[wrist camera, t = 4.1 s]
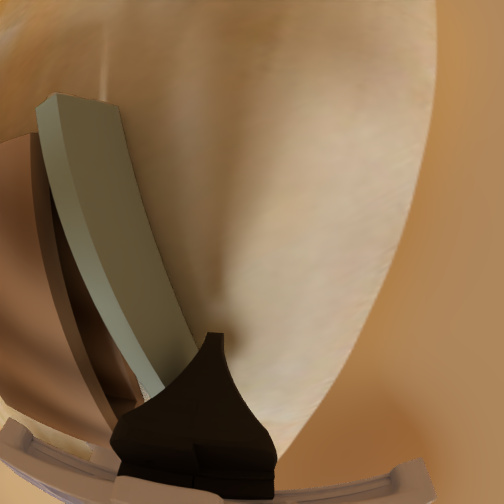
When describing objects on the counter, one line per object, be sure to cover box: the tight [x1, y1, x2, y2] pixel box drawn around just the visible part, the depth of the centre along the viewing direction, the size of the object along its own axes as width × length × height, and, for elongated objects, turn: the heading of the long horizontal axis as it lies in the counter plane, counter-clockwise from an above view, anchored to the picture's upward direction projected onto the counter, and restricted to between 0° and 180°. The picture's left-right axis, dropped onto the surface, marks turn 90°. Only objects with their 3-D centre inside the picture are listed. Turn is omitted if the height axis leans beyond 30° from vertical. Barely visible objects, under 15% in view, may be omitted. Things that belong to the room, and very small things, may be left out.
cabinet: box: [0, 133, 144, 450], centre depth 12 cm, size 18×12×5 cm, turn 178°
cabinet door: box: [35, 92, 199, 398], centre depth 11 cm, size 19×2×5 cm, turn 13°
